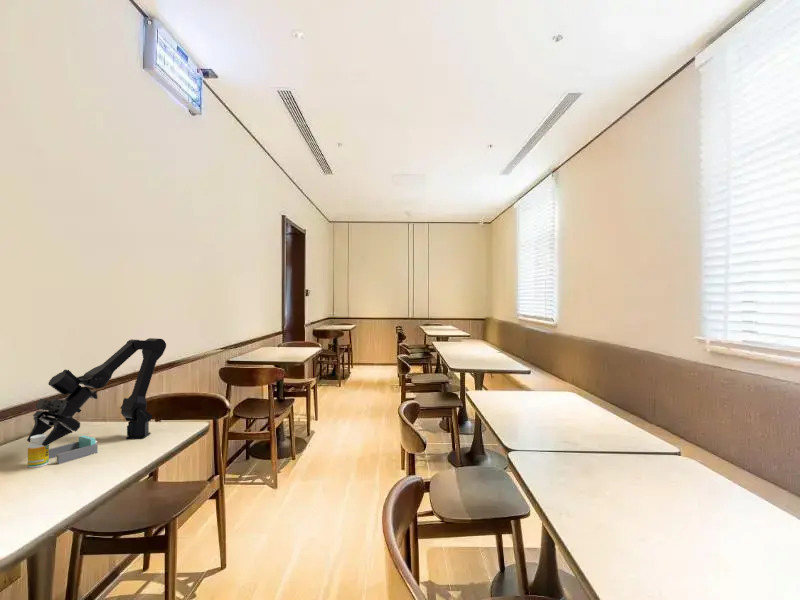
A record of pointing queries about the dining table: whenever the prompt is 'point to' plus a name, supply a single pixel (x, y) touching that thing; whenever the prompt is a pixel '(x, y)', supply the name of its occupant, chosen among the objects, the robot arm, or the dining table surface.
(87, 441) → the lane
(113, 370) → the robot arm
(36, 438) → the supplement bottle
